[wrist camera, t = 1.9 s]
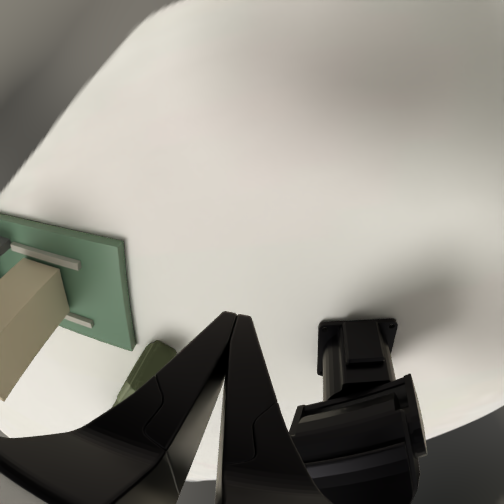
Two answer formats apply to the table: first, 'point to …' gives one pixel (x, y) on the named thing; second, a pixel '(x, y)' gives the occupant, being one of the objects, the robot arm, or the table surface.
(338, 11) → the table surface
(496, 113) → the table surface
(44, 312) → the plug
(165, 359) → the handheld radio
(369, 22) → the table surface
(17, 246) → the board
